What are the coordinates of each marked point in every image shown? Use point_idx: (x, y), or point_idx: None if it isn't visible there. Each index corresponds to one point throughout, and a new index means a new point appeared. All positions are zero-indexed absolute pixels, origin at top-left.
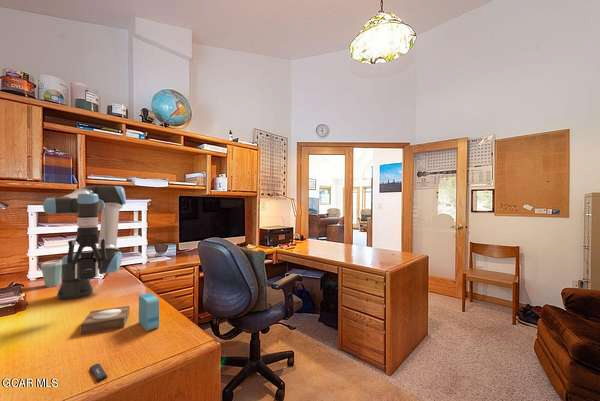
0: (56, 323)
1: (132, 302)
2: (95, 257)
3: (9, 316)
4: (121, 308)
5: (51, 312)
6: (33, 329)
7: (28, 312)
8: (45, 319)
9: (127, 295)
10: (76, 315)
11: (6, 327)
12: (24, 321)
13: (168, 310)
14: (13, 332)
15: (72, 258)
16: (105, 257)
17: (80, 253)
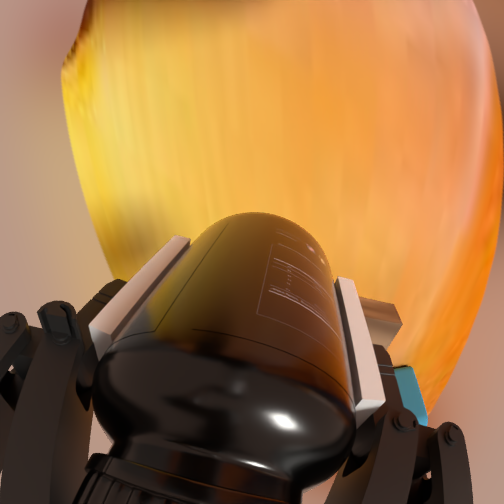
0: (190, 231)
1: (440, 176)
2: (336, 471)
3: (66, 76)
4: (376, 334)
5: (155, 89)
6: (142, 241)
7: (97, 56)
8: (150, 163)
9: (432, 56)
10: (242, 186)
11: (79, 175)
12: (102, 146)
13: (463, 333)
14: (106, 230)
15: (6, 353)
16: (422, 478)
17: (64, 491)
